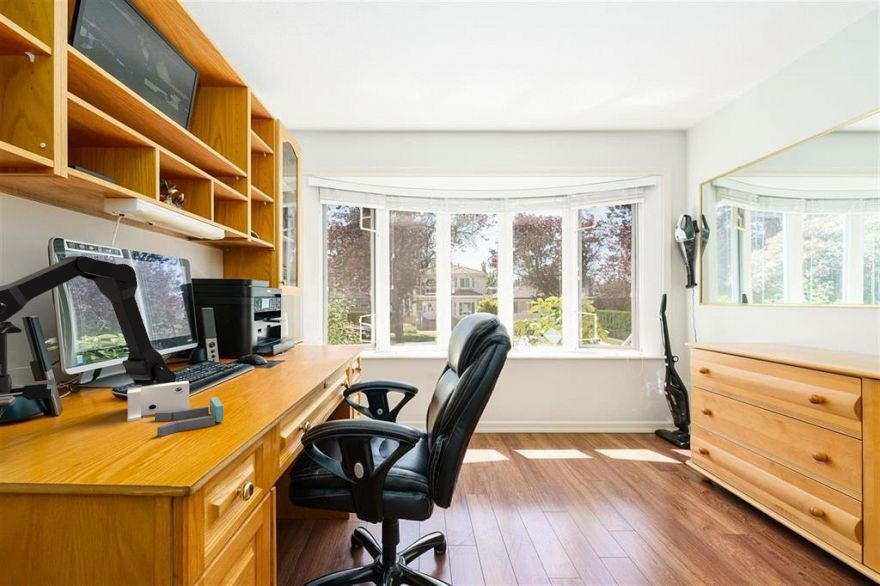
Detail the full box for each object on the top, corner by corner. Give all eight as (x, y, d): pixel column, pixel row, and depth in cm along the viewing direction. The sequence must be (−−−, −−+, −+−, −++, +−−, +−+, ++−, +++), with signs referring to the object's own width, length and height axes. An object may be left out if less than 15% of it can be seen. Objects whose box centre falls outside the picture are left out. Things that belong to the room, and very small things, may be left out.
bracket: (128, 415, 103) (127, 422, 97) (128, 387, 103) (127, 393, 97) (188, 406, 111) (190, 412, 105) (188, 380, 111) (190, 385, 105)
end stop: (209, 411, 104) (209, 397, 104) (216, 410, 105) (216, 397, 105) (216, 422, 96) (216, 406, 96) (223, 420, 97) (223, 405, 97)
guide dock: (154, 420, 99) (154, 411, 99) (206, 411, 106) (206, 404, 106) (157, 438, 87) (157, 428, 87) (216, 427, 93) (216, 418, 93)
